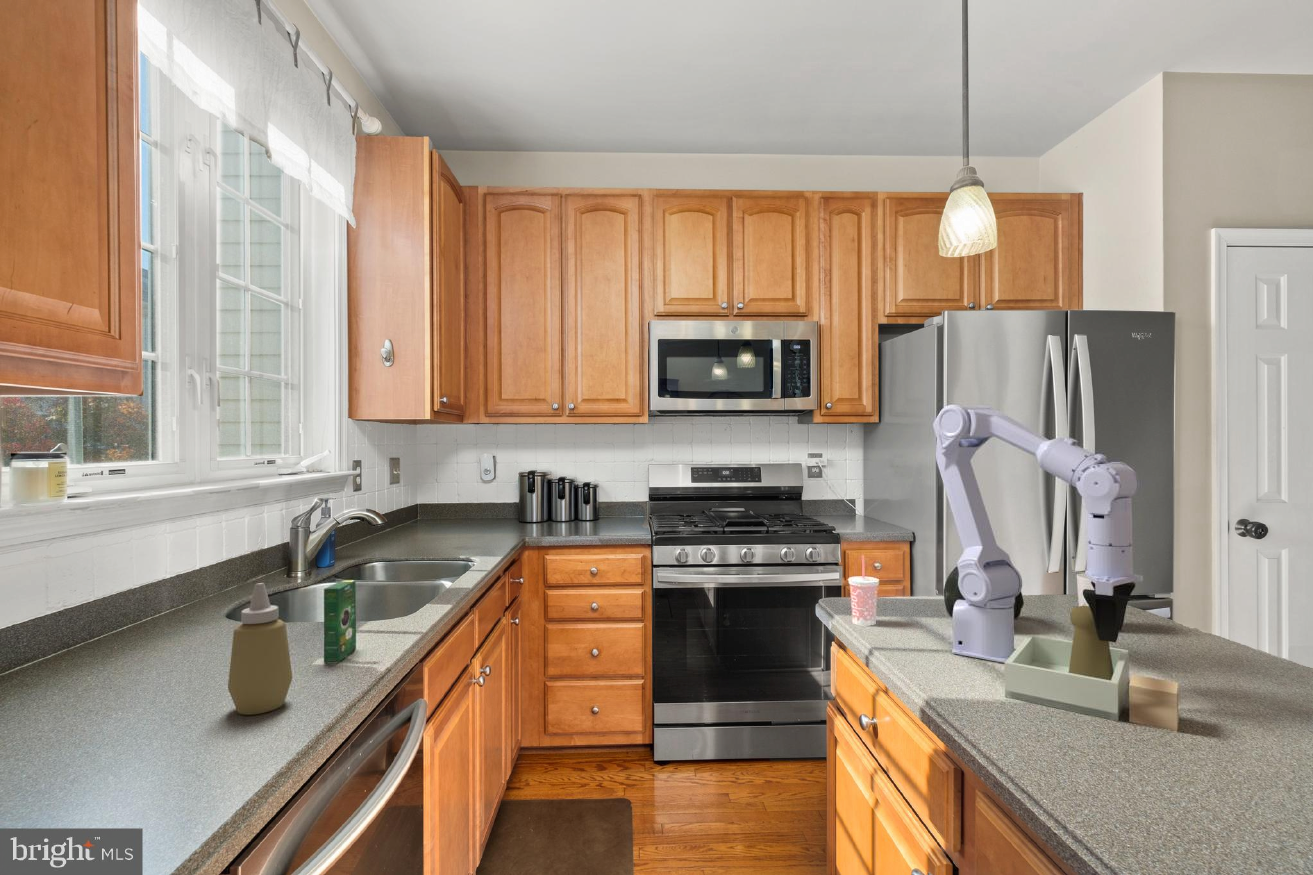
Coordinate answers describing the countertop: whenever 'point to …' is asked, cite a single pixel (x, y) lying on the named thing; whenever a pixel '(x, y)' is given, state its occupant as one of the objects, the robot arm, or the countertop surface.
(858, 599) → the beverage cup
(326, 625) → the coffee box
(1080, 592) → the white cup
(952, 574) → the squash
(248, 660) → the squeeze bottle
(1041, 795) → the countertop surface
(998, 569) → the robot arm
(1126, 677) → the tote
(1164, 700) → the maple cube
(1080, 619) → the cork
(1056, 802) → the countertop surface
